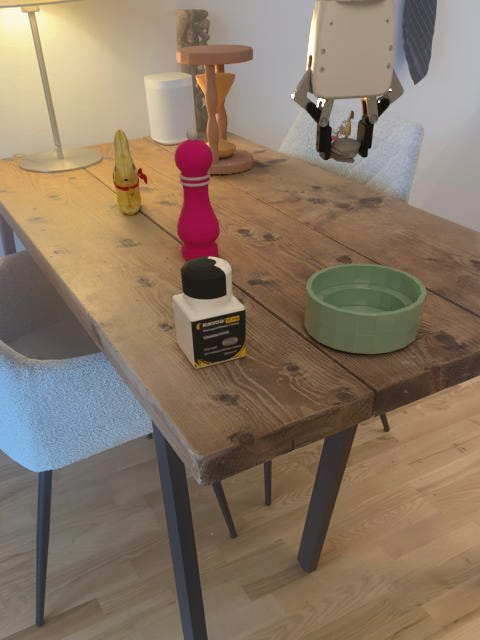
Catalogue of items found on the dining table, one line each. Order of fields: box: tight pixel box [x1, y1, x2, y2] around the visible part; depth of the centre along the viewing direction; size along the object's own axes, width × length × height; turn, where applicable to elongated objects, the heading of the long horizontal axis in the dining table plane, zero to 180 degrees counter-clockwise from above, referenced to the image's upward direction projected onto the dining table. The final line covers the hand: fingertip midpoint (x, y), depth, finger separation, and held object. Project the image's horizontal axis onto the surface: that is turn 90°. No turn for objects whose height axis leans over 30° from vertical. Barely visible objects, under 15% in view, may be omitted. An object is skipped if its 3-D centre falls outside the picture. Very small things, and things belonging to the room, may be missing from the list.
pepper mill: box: [174, 128, 221, 261], centre depth 92 cm, size 7×7×20 cm
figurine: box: [329, 110, 361, 164], centre depth 74 cm, size 5×4×6 cm
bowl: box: [303, 262, 428, 355], centre depth 76 cm, size 15×15×6 cm
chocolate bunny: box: [112, 129, 148, 216], centre depth 114 cm, size 7×11×15 cm, turn 11°
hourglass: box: [175, 44, 255, 176], centre depth 136 cm, size 18×18×25 cm
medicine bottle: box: [171, 256, 247, 370], centre depth 70 cm, size 7×7×12 cm
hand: (342, 154), depth 76 cm, fingers closed on figurine, 4 cm apart
